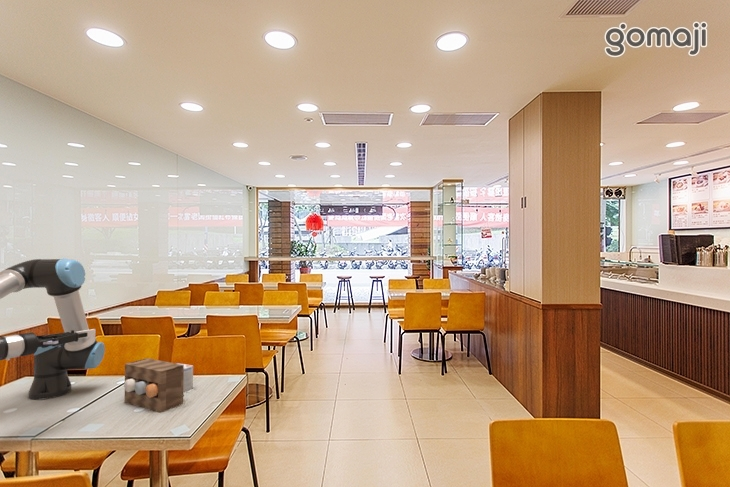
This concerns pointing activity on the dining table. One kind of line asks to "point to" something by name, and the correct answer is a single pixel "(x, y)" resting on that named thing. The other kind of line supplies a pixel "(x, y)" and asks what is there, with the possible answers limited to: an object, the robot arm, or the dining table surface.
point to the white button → (130, 384)
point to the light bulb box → (187, 377)
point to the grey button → (140, 387)
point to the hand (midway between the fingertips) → (94, 332)
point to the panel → (160, 373)
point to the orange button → (152, 390)
